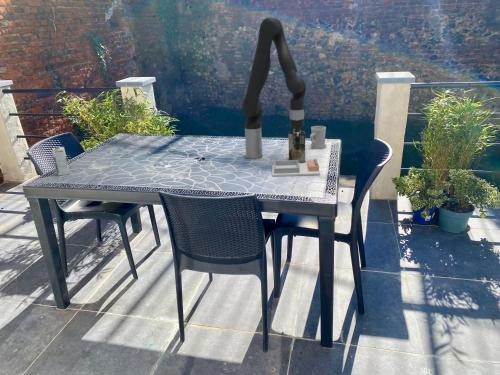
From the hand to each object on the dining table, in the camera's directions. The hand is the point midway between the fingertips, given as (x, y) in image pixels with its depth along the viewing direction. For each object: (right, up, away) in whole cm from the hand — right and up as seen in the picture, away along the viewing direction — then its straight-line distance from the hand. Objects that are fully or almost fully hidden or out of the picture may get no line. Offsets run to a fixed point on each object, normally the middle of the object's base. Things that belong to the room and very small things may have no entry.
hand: (296, 147), depth 217 cm
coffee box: (0, -7, +3) cm, 8 cm away
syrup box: (-129, -14, +4) cm, 129 cm away
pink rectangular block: (+7, -11, -12) cm, 18 cm away
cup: (+16, +3, +24) cm, 29 cm away
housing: (-2, -13, -11) cm, 17 cm away
